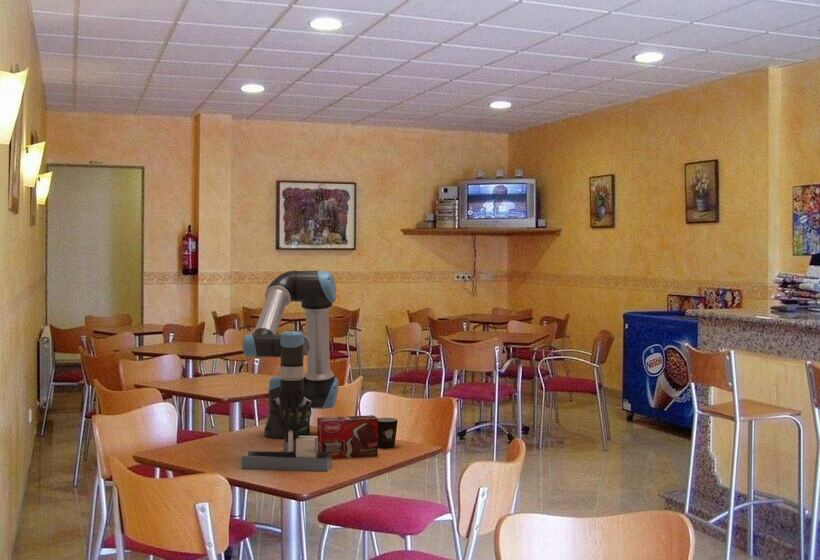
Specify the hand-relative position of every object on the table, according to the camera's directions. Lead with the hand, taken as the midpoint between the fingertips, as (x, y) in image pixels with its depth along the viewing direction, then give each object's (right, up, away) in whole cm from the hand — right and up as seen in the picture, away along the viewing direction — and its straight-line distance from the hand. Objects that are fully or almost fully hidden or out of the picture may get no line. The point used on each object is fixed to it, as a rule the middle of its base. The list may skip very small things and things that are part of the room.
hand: (291, 450), depth 299 cm
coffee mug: (+29, -5, +34) cm, 45 cm away
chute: (-1, -5, 0) cm, 6 cm away
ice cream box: (+17, -6, +18) cm, 25 cm away
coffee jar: (-1, -5, +21) cm, 22 cm away
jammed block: (+5, -4, 0) cm, 6 cm away
